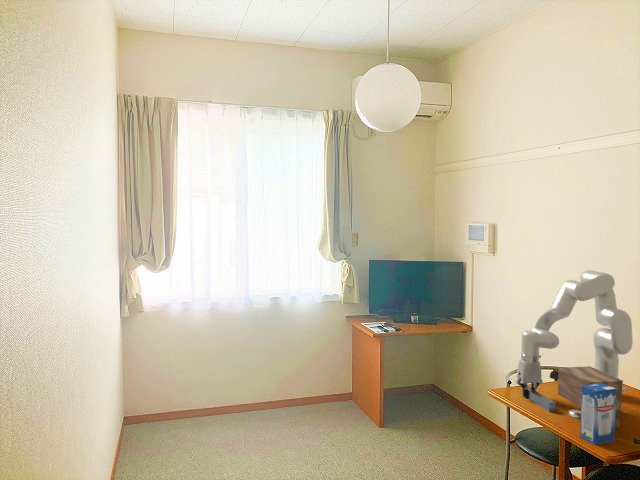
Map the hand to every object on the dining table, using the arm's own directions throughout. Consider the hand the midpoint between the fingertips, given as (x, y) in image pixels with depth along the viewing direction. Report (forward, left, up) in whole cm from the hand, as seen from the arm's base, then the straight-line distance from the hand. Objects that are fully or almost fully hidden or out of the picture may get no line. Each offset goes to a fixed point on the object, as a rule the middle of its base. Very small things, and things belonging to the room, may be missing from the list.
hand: (528, 396), depth 224 cm
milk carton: (0, +43, 0) cm, 43 cm away
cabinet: (-10, +26, 0) cm, 28 cm away
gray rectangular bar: (0, +7, 0) cm, 7 cm away
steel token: (-8, +22, 0) cm, 23 cm away
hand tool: (-33, -16, -1) cm, 37 cm away
